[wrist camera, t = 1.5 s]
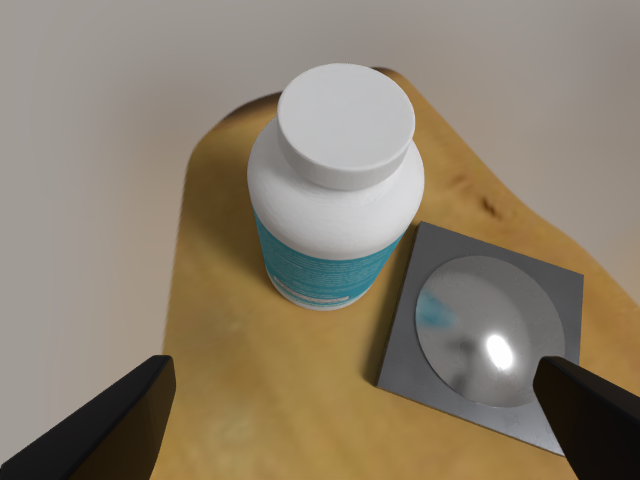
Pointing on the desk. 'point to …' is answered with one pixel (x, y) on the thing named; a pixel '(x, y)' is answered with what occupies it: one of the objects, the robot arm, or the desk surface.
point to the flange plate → (480, 332)
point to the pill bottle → (334, 183)
